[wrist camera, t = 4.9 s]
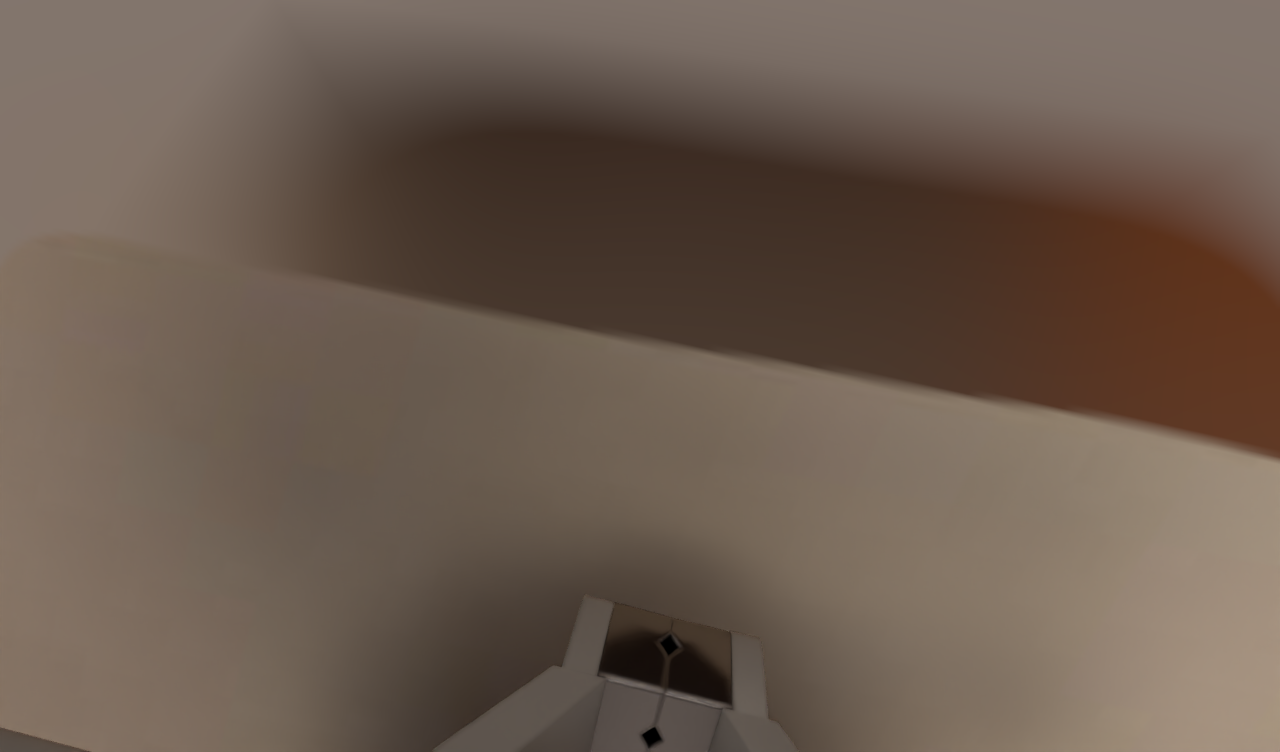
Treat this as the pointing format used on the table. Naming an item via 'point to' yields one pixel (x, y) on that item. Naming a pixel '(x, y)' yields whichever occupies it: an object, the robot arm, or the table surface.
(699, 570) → the table surface
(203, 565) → the table surface
